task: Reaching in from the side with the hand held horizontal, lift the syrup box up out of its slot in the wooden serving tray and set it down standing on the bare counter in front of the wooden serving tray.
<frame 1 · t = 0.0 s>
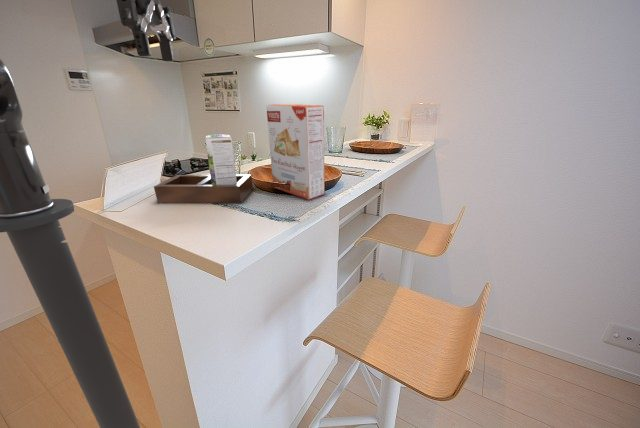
hand: (157, 58, 58), 30 cm above the table, tool pointing down, fingers open, 8 cm apart
syrup box: (226, 196, 71), resting in wooden serving tray
wooden serving tray: (208, 195, 71), on the table
cracker box: (297, 192, 73), on the table
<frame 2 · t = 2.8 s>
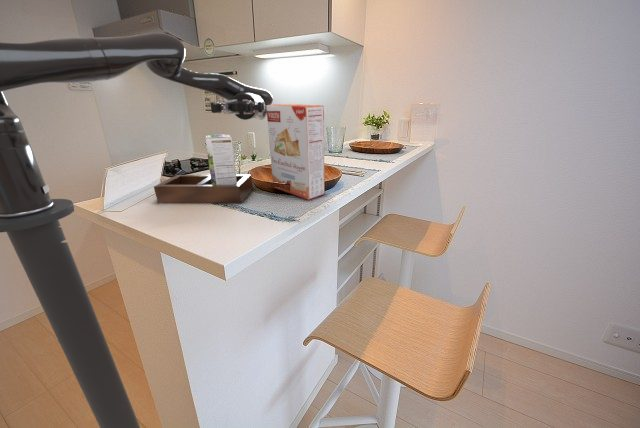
hand: (230, 108, 73), 20 cm above the table, tool horizontal, fingers open, 8 cm apart
nothing on the table moved.
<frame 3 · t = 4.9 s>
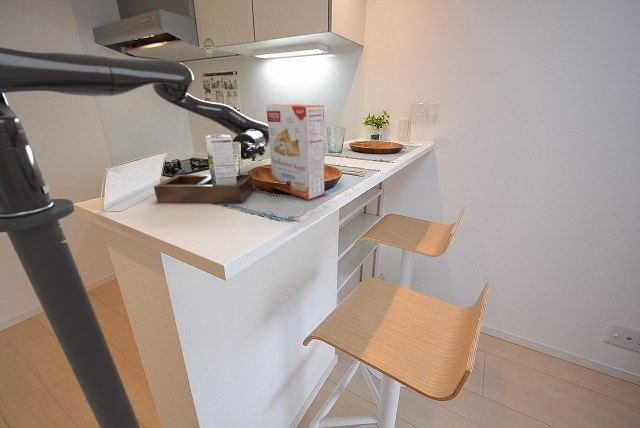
hand: (231, 153, 74), 9 cm above the table, tool horizontal, fingers open, 8 cm apart
nothing on the table moved.
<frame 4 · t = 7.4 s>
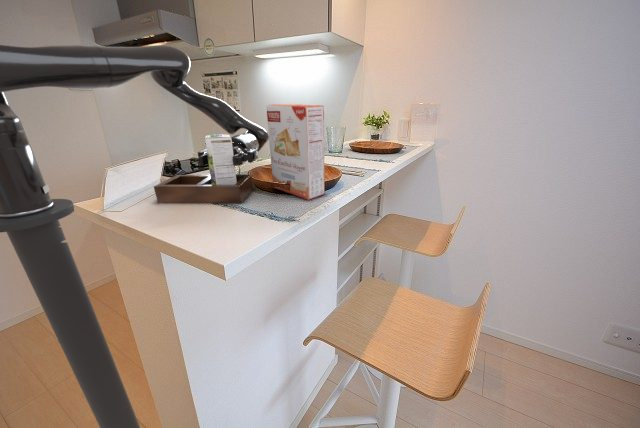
hand: (217, 161, 65), 9 cm above the table, tool horizontal, fingers closed on syrup box, 7 cm apart
syrup box: (226, 196, 71), resting in wooden serving tray, touching gripper
everything else where it was.
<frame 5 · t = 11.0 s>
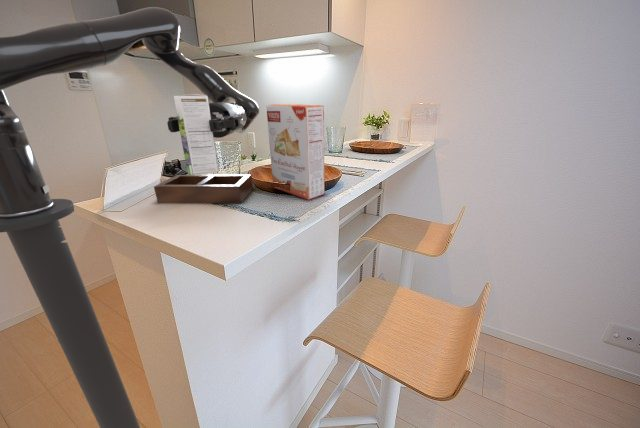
hand: (191, 126, 53), 18 cm above the table, tool horizontal, fingers closed on syrup box, 7 cm apart
syrup box: (204, 171, 58), point 8 cm above the table, touching gripper
everything else where it was.
when the fingers open (9 cm above the table, at t = 14.6 s): syrup box stays where it is, on the table.
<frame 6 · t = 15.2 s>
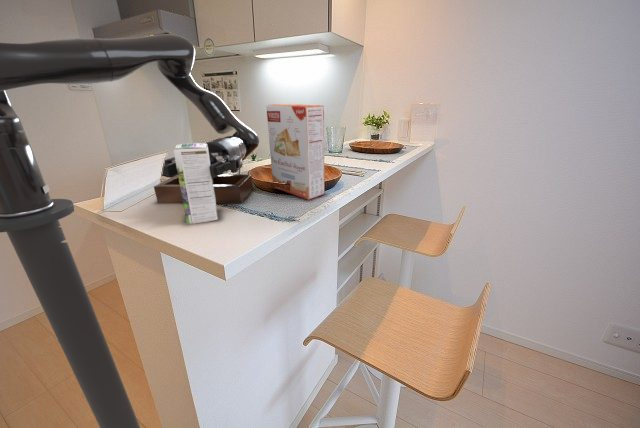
hand: (189, 172, 52), 10 cm above the table, tool horizontal, fingers open, 8 cm apart
syrup box: (203, 218, 58), on the table
everything else where it was.
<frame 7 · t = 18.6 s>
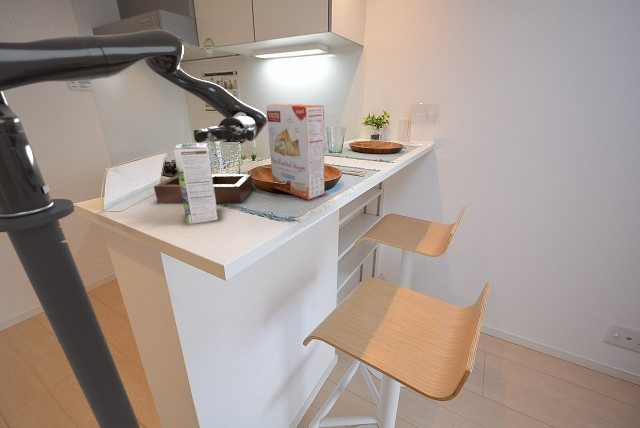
hand: (215, 137, 65), 14 cm above the table, tool horizontal, fingers open, 8 cm apart
nothing on the table moved.
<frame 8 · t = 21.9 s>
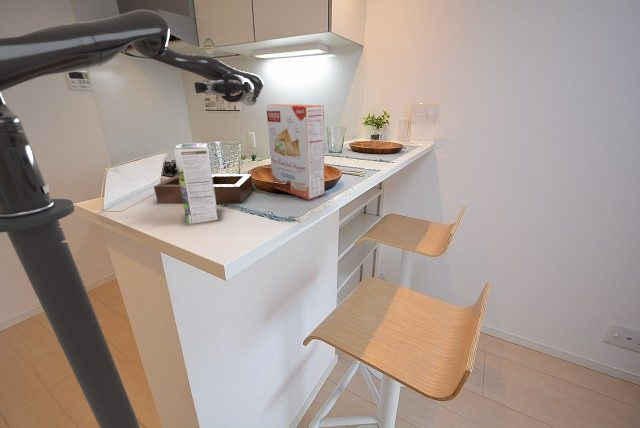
hand: (214, 86, 70), 25 cm above the table, tool horizontal, fingers open, 8 cm apart
nothing on the table moved.
at the end: syrup box inside the target area (0.2 cm from its centre), on the table; syrup box tilted 0°; syrup box touching table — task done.
